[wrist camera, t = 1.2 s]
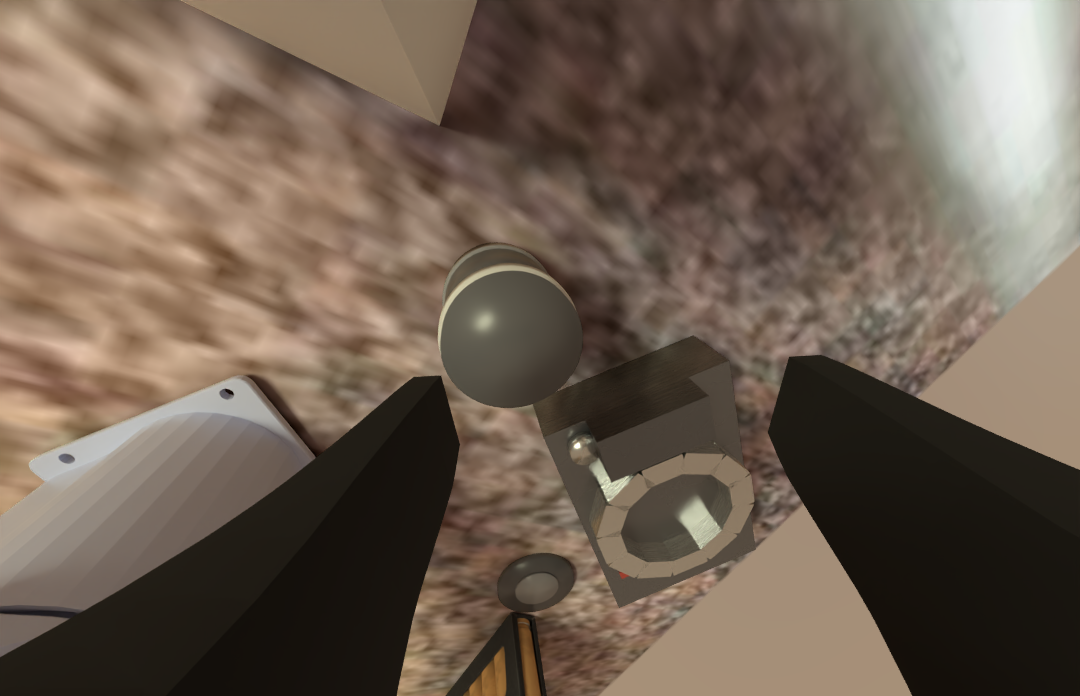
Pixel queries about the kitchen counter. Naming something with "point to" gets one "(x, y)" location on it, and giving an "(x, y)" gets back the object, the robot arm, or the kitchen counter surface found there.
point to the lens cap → (535, 582)
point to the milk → (365, 42)
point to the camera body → (654, 466)
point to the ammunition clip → (506, 663)
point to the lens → (507, 327)
